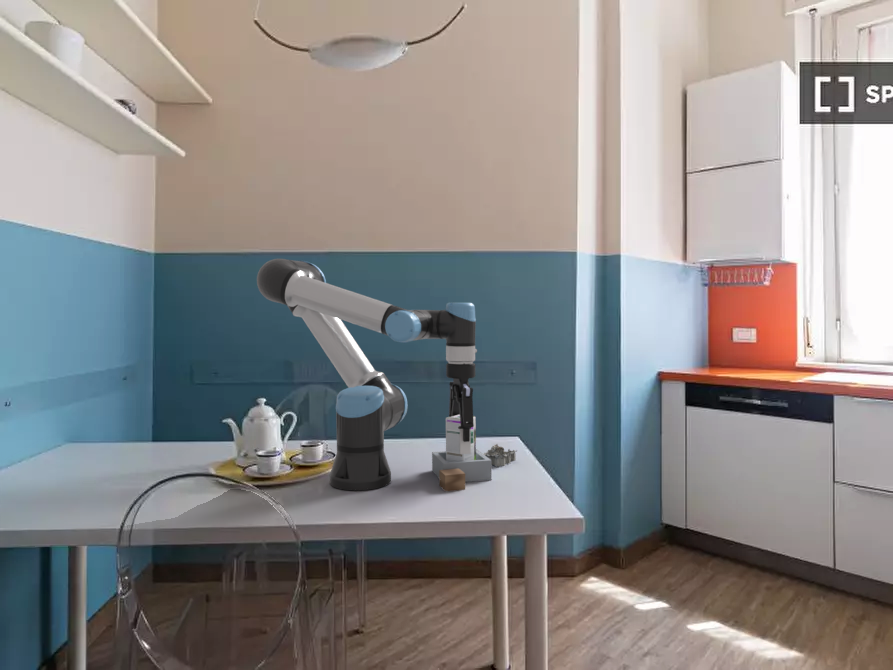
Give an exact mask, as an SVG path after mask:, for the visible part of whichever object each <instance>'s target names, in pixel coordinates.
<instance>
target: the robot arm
mask: <svg viewBox="0 0 893 670" xmlns="http://www.w3.org/2000/svg"><path fill="white" fill-rule="evenodd" d="M256 284H257V285H256V286H257V288H258V291H259V292H260V294H261V295H262V296H263V297H264V298H265V299H266V300H268V301H271V302H272V303H273V302H274V303H279V304H281V305H285V306H287V308H288V309H289V311H290V312H291V314H292V315H293V317H296V318H297V317H298V318H301V319H302V321H304V323H305V325H306V326H307V328H308V329H309V330H310V332H311V334H312V336H314V338H315V340H316V341H317V343H318V344H319V345H320V347H321V348H322V350H323V352H324V353H325V355H326V357H328V359H329V360H330V363H331V364H332V365H333V366H334V368H335V370H336V371H337V372H338V374H339V376H340V378H341V379H342V380H343V382H344V383H345V385H346V386H347V388H344V389H342V390H340V391H339V392H338V393H337V395H336V402H335V412H336V413H335V415H336V420H335V421H336V428H335V429H336V454H335V458H334V460H333V464H332V467H331V470H330V474H329V485H330V486H332V487H333V488H335V489H339V490H344V491H369V490H374V489H380V488H383V487H386V486H389V484H391V482H392V472H391V467H390V466H389V462H388V460H387V459H388V458H387V456H386V453H385V441H384V440H385V435H384V434H385V431H387V430H391V429H392V428H393V429H394V428H395V427H396V426H398V425H399V424H400V423H401V422H402V421H403V419H404V418H405V417H406V415H407V412H408V408H409V407H408V399H407V395H406V393H405V392H404V390H403V389H402V388H401V387H399V386H398V385H396V384H393V383H391V381H390V380H389V379H388V377H387V376H386V374H385V373H384V372H382V371H378V370H376V369H375V368H374V366H373V365H372V364H371V362H370V360H369V359H368V357H367V356H366V354H364V351H363V350H362V349H361V347H360V345H359V344H358V343H357V340H355V338H354V337H353V336H352V334H351V332H350V331H349V330H348V328H347V326H346V325H345V323H344V322H343V321H345V322H348V323H351V324H353V325H356V326H359V327H362V328H364V329H368V330H370V331H374V332H376V333H380V334H382V335H385V336H388V337H389V338H390V339H391V340H393V342H396V343H397V342H398V343H404V344H405V343H410V342H413V341H420V340H426V339H427V340H433V339H434V340H438V339H439V340H445V342H446V343H445V356H446V357H445V360H446V362H447V363H446V365H445V367H446V369H445V370H446V371H445V372H446V373H445V375H446V377H447V378H448V379H452V381H450V382H449V407H448V410H449V411H448V417H451V416H455V415H458V414H460V422H461V426H459V427H458V429H460V454H471V427H473V426H474V424H473V416H474V403H473V402H474V401H473V400H474V399H473V392H474V388H473V387H471V386H470V384H469V379H473V378H475V377H476V364H475V362H476V353H477V352H478V349H477V348H476V326H477V325H476V322H477V319H476V307H475V304H474V303H473V302H447V303H446V304H445V305H446V307H445V309H440V310H439V309H438V310H437V309H435V310H434V309H432V310H431V309H406V308H402V307H400V306H397V305H393V304H391V303H387V302H385V301H381V300H379V299H376V298H372V297H370V296H366V295H364V294H361V293H359V292H358V293H357V292H355V291H352V290H348V289H345V288H342V287H339V286H336V285H333V284H330V283H328V282H327V280H326V277H325V274H324V273H323V271H322V270H321V269H320V268H319V267H318V266H317V265H316V264H314V263H311V262H309V261H307V260H306V261H305V260H292V259H286V258H274V259H270V260H268V261H267V262H265V263H264V264H263V265H262V266H261V267H260V268H259V271H258V272H257V275H256ZM466 422H468V423H466Z"/></svg>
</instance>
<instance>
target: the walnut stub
mask: <svg viewBox="0 0 893 670" xmlns="http://www.w3.org/2000/svg"><path fill="white" fill-rule="evenodd" d="M438 479H439V480H438V481H439V484H438V485H439V487H441V489H442V490H443V491H444V492H452V491H462V490H463V491H464V490H466V482H465V473H464V472H463V471H461V470H460V469H459V468H458V469H446V470H439V478H438Z"/></svg>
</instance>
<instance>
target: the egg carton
mask: <svg viewBox="0 0 893 670" xmlns="http://www.w3.org/2000/svg"><path fill="white" fill-rule="evenodd" d="M516 452H517V453H518V450H514V449H513V450H510V448H509V449H507V451H505V449H504V447H503V446H499V445H498V443H496V444H494V445H492V446H491V448H490V449H488V451H486V452H484V453H483V454H484V455H485V456H486V457H488V458H489V459H490V460H491V466H492V465H493V466H494V467H505V466H506V464H507V465H508V464H511V462H512V461H513V462H514V461H515V462H516V459H517V457H516Z"/></svg>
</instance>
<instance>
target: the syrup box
mask: <svg viewBox="0 0 893 670" xmlns="http://www.w3.org/2000/svg"><path fill="white" fill-rule="evenodd" d="M466 423H468V422H466ZM473 424H474V426H473V427H471V454H460V429H458V427H459V426H461V422H460V414H458V415H455V416H451V417H449V416H448V417H445V451H446V461H447V462H455V461H470V460H476V449H477V437H476V436H477V435H476V434H477V433H476V432H477V431H476V429H477V428H476V427H477V426H476V425H477V424H476V416H475V415H473Z"/></svg>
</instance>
